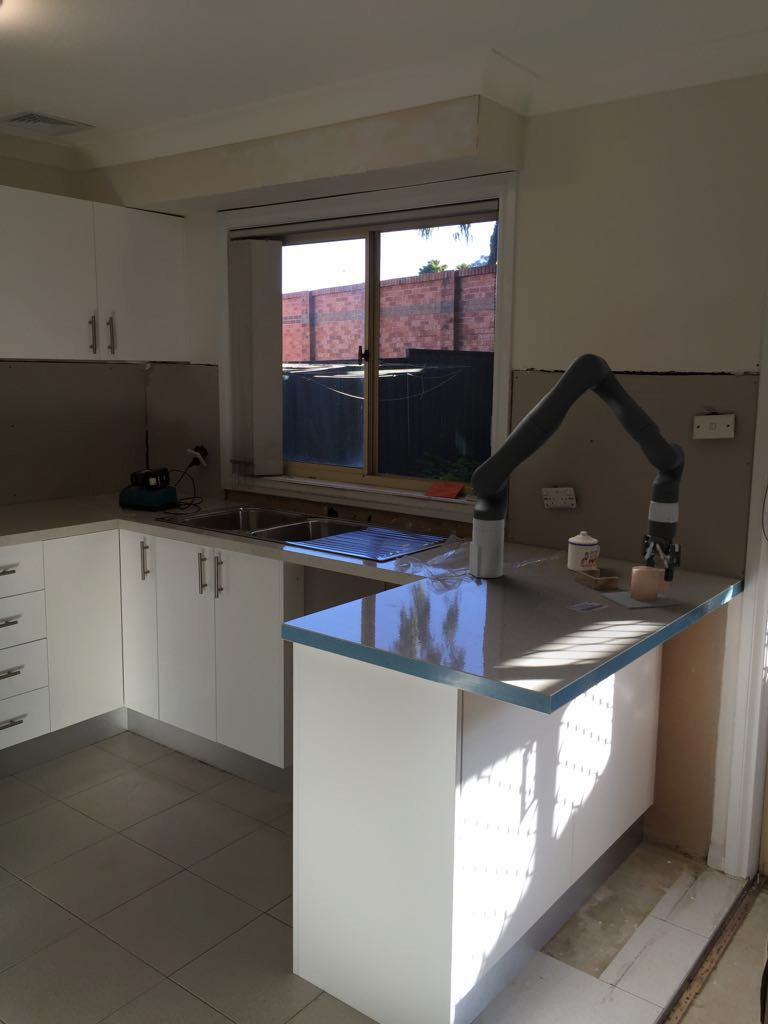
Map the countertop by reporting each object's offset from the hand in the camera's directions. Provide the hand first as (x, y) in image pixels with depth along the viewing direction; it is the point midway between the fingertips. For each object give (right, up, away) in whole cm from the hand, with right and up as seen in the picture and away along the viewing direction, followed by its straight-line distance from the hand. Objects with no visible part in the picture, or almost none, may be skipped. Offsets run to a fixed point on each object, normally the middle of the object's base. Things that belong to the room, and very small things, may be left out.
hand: (658, 577), depth 232 cm
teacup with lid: (-12, 0, +34) cm, 36 cm away
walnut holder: (-13, -3, +16) cm, 21 cm away
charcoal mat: (-5, -6, -1) cm, 8 cm away
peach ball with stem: (-2, -6, 0) cm, 6 cm away
